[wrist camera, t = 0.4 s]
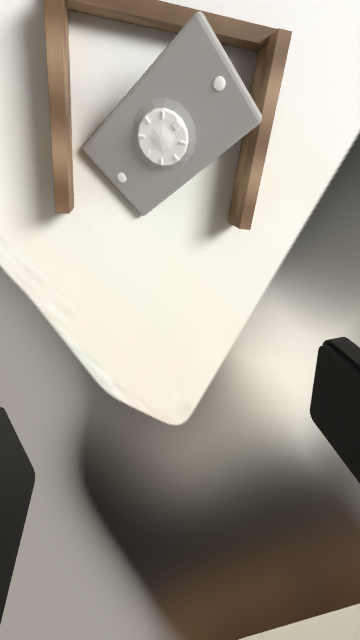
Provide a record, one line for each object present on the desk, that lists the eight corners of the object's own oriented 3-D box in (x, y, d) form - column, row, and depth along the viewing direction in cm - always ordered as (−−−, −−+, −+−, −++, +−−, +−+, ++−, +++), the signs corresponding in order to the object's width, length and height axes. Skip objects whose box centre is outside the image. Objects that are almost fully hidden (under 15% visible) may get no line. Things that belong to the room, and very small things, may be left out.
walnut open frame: (51, -14, 25) (41, -42, 22) (272, 37, 29) (294, 21, 26) (61, 206, 33) (55, 212, 29) (237, 222, 37) (250, 229, 33)
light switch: (75, 152, 29) (195, 9, 21) (99, 133, 33) (208, 6, 25) (140, 221, 33) (263, 124, 25) (154, 197, 37) (264, 106, 29)
